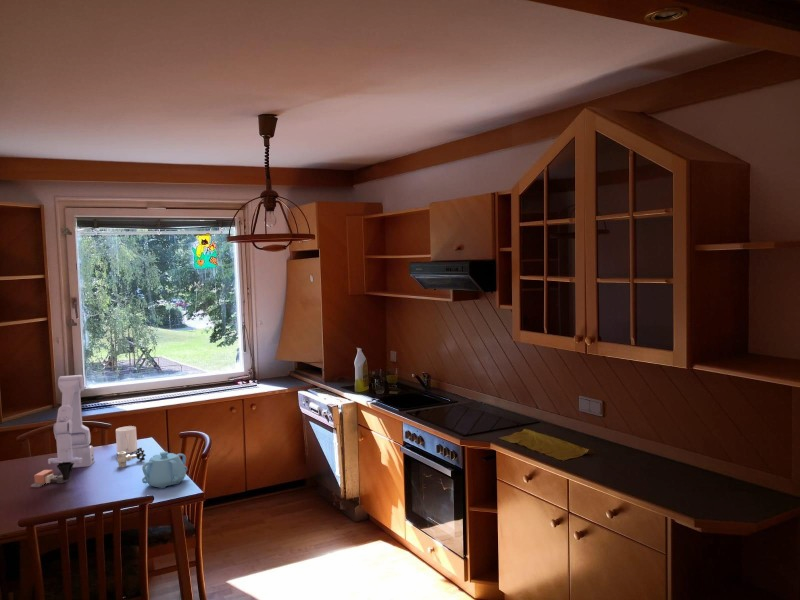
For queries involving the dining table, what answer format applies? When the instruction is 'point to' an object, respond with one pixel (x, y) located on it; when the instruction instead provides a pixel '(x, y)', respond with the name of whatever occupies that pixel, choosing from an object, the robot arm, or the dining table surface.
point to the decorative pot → (164, 470)
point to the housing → (41, 478)
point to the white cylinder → (126, 439)
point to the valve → (129, 457)
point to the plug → (51, 478)
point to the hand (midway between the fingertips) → (66, 479)
